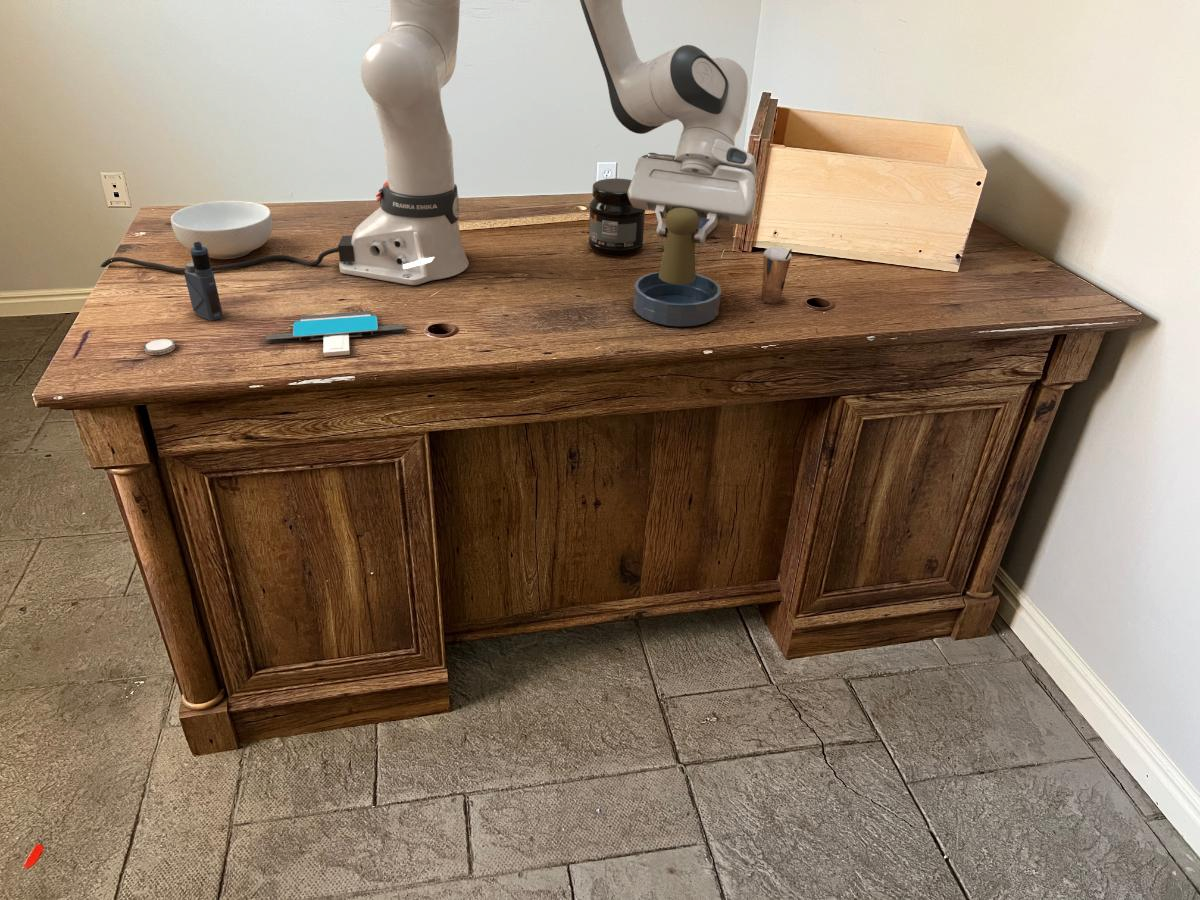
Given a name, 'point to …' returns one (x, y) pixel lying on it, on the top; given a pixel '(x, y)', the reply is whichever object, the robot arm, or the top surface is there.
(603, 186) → the supplement container
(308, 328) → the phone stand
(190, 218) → the cereal bowl
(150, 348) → the white bottle cap
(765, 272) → the milkshake
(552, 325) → the top surface
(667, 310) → the serving bowl
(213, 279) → the vaping device
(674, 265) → the olive peg figure
